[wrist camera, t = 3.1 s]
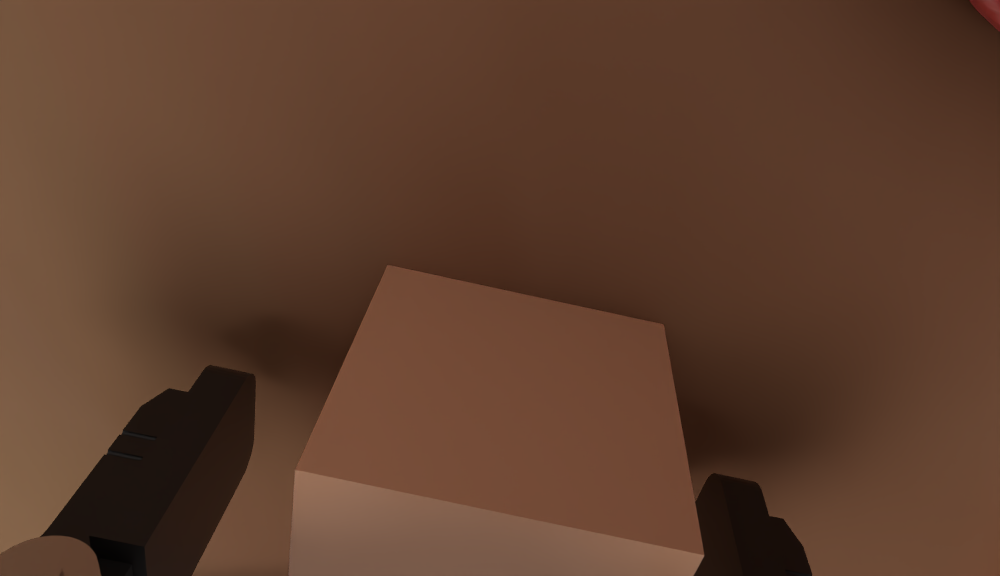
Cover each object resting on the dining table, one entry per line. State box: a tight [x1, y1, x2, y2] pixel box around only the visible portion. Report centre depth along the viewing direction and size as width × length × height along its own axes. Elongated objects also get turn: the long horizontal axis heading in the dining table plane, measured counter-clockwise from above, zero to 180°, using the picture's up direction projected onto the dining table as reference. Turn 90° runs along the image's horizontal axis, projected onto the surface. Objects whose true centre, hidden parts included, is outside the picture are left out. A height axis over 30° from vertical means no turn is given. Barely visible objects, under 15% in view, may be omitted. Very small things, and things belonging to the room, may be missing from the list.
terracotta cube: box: [288, 265, 704, 576], centre depth 12 cm, size 5×5×5 cm
